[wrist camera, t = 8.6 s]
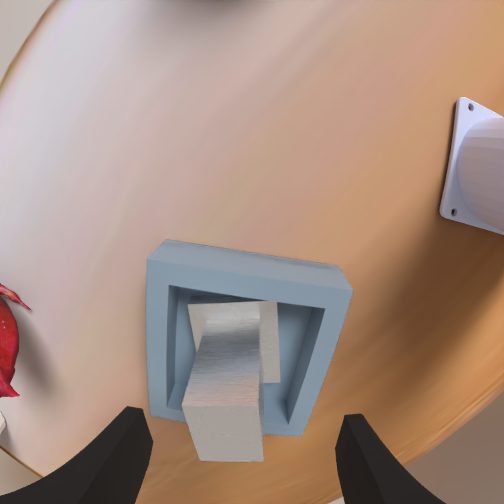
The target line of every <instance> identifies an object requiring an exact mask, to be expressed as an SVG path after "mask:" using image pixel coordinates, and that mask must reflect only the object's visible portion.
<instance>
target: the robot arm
mask: <svg viewBox="0 0 504 504" xmlns="http://www.w3.org/2000/svg"><path fill="white" fill-rule="evenodd" d="M468 104H469V105H470V108H471V110H469V108H468ZM452 209H454V214H453V215H451V211H452ZM440 214H441V216H442V217H444V218H446V219H450V220H454V221H458V222H461V223H465V224H468V225H472V226H475V227H479V228H482V229H486V230H489V231H492V232H496V233H499V234H502V235H504V117H502V116H500V115H499V114H497V113H495V112H493V111H491V110H489V109H487V108H486V107H484V106H482V105H480V104H478V103H476V102H474V101H472V100H470V99H468V98H466V97H460V98H458V99H457V102H456V113H455V122H454V131H453V138H452V145H451V152H450V158H449V164H448V170H447V175H446V181H445V186H444V191H443V196H442V200H441V205H440ZM152 446H153V440H152V437H151V434H150V431H149V428H148V425H147V422H146V419H145V416H144V413H143V409H141V408H135V407H129V406H127V407H126V408H125V409H124V410H123V411H122V412H121V413H120V414H119V415H118V416H117V417H116V418H115V419H114V420H113V421H112V422H111V423H110V424H109V425H108V426H107V427H106V428H105V429H104V430H103V431H102V432H101V433H100V434H99V435H98V436H97V437H96V438H95V439H94V440H93V441H92V442H91V443H90V444H88V445H87V446H86V447H85V448H84V449H83V450H82V451H80V452H79V453H78V454H77V455H76V456H74V457H73V458H72V459H71V460H69V461H68V462H67V463H65V464H64V465H63V466H61V467H60V468H58V469H57V470H55V471H54V472H52V473H50V474H49V475H47V476H45V477H44V478H42V479H40V480H38V481H36V482H35V483H32V484H30V485H28V486H26V487H23V488H21V489H19V490H17V491H14V492H11V493H8V494H5V495H1V496H0V504H135V502H136V499H137V496H138V493H139V490H140V488H141V485H142V482H143V479H144V476H145V473H146V471H147V468H148V465H149V460H150V456H151V451H152ZM335 452H336V462H337V471H338V476H339V480H340V485H341V489H342V493H343V497H344V502H345V504H446V503H444V502H443V501H441V500H440V499H438V498H437V497H436V496H434V495H433V494H432V493H431V492H430V491H428V490H427V489H426V488H425V487H424V486H422V485H421V484H420V483H419V482H418V481H417V480H416V479H415V478H414V477H413V476H412V475H411V474H410V473H409V472H408V471H407V470H406V469H405V468H404V467H403V466H402V465H401V464H400V463H399V462H398V461H397V459H396V458H395V457H394V456H393V455H392V453H391V452H390V451H389V450H388V449H387V447H386V446H385V445H384V444H383V442H382V441H381V440H380V438H379V437H378V436H377V434H376V433H375V432H374V430H373V429H372V427H371V426H370V425H369V423H368V422H367V420H366V419H365V417H364V416H363V415H362V414H352V415H345V416H344V420H343V423H342V427H341V430H340V434H339V437H338V440H337V444H336V447H335Z"/></svg>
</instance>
